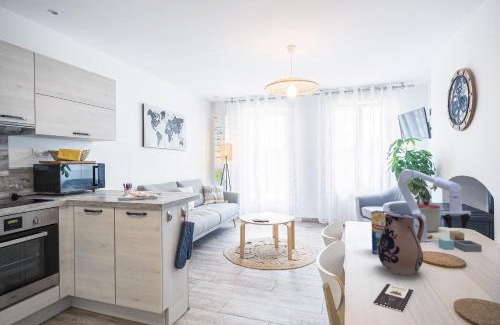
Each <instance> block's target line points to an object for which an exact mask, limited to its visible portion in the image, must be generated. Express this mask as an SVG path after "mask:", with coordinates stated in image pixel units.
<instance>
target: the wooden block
mask: <svg viewBox="0 0 500 325" xmlns="http://www.w3.org/2000/svg"><path fill="white" fill-rule="evenodd" d="M448 232H449V239H451V240H453V241H454V240H465V232H462V231H460V230H449V231H448Z"/></svg>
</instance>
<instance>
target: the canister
mask: <svg viewBox="0 0 500 325" xmlns="http://www.w3.org/2000/svg"><path fill="white" fill-rule="evenodd" d="M416 204H417V206H418V207H419V209H420V211H421V212H422V214H424V215H425V216H426V223H425V224H426V225H427V233H434V232H437V231H439V229H440V221H441V215H442V209H443V207H442V206H440V205H439V204H435V203H430V201H429V200H428V199H424V200H422V203H421V202H420V203H416Z"/></svg>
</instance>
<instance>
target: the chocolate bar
mask: <svg viewBox="0 0 500 325" xmlns="http://www.w3.org/2000/svg"><path fill="white" fill-rule="evenodd" d="M412 292H413V293H414V289H410V288H407V287H402V286H399V285H395V284H391V283H386V284H385V286H384V287H383V289H381V291H380V293H379V294H378V295H377V296H376V298H375V299H374V301H373V304H374V303H378V304H382V305H385V306H388V307H391V308H394V309H398V310H401V311H403V310H404V311H405V309H406V307H407V305H406V304H408V303H409V301H408V300H410V299H409V298H411V297H410V296H412V295H413V293H412ZM411 294H412V295H411ZM407 302H408V303H407ZM385 303H386V304H385ZM405 306H406V307H405ZM404 308H405V309H404ZM394 309H393V310H394ZM404 311H403V312H404Z"/></svg>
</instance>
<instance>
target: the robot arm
mask: <svg viewBox="0 0 500 325" xmlns="http://www.w3.org/2000/svg"><path fill="white" fill-rule="evenodd" d="M411 179H421V180H424V181H427V182H429V183H431V184H433V186H434V187H437V188H439V189H442V190H445V191H448V192H449V196H448V198H449V200H448V201H449V203H448V204H449V210H445V211H444V210H443V211H441V216H442V218H443V219H444V221H445V222H446V225H447V228H448V229H452V219H453V216H460V219H461V220H460V221H461V228H464V229H466V228H467V224H468V222H469V220H470V218H471V215H472V212H471V210H470V211H469V210H463V200H462V190H463V189H462V187H461V184H459V183H457V182H454V181H453V180H448V179H445V177H443V176H441V177H440V176H438V177H433V176H431V175H428V174H427V173H426V174H425V173H423V172H420V171H418V170H413V169H410V168H405V169H403V170H401V172H400V174H399V175H398V181H397V186H398V187H397V188H398V189H399V191H400V192H401V194H402V197H403V198H404V200H405V203H406V205H407V206H408V208H409V210H410V213H411V214H417V215H420V216H422V219H423V221H424V231H423V235H422V239H421V242H431V240H429V239H428V232H427V225H426V224H425V223H426V216H425V215H424V214H422V212H421V211H420V209H419V207H418V206H417V204H418V203H417V201H416V200H415V198H414V196H413V194H412V192H411V190H410V188H409V187H408V184H409V181H410V180H411ZM413 226H414V229H415V232H416V235H417V234H418V230H419V221H418V219H417V218H415V219H414V220H413Z"/></svg>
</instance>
